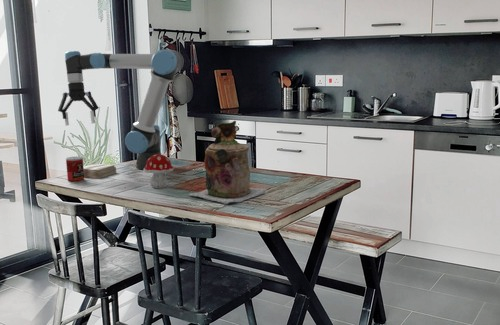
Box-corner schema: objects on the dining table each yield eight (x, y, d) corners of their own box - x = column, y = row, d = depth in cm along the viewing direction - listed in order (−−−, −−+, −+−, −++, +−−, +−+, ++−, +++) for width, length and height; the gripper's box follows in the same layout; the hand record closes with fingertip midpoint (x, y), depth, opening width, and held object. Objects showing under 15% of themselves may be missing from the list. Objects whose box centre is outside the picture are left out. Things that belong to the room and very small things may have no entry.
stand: (116, 172, 275) (115, 165, 274) (98, 178, 262) (98, 170, 261) (94, 170, 280) (93, 163, 279) (76, 176, 267) (75, 168, 267)
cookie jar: (226, 186, 244) (224, 116, 238) (268, 194, 228) (268, 119, 222) (186, 197, 225) (184, 121, 219) (230, 206, 210) (229, 125, 203)
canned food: (74, 182, 253) (72, 159, 251) (64, 180, 258) (62, 158, 256) (87, 179, 259) (86, 157, 257) (77, 177, 264) (76, 155, 262)
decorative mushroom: (157, 182, 252) (155, 150, 249) (181, 185, 246) (179, 153, 243) (137, 188, 240) (135, 155, 237) (162, 191, 234) (161, 158, 231)
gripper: (96, 82, 281) (100, 122, 283) (48, 84, 265) (53, 126, 267) (102, 81, 275) (106, 122, 277) (53, 82, 260) (58, 126, 261)
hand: (80, 124), depth 272 cm, fingers open, 13 cm apart
